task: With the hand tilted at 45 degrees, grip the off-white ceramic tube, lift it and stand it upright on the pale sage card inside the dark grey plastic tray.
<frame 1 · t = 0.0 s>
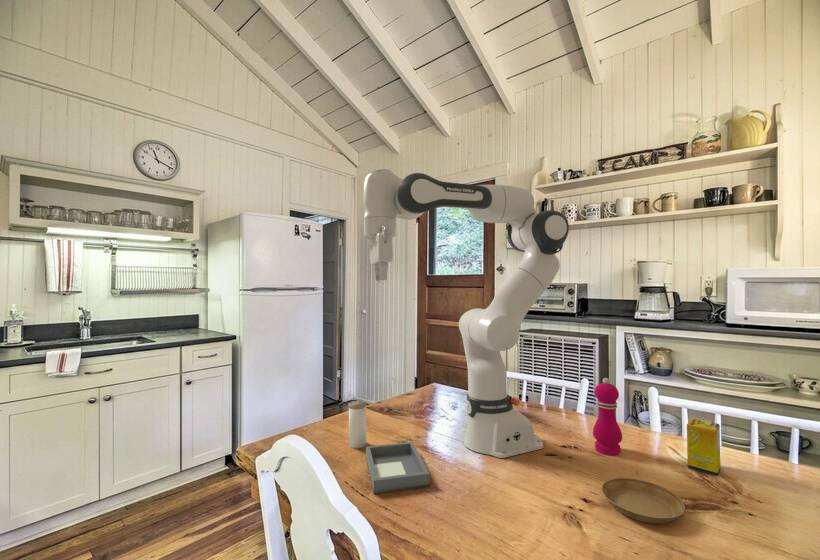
hand: (380, 280, 103), 48 cm above the table, tool pointing down, fingers open, 8 cm apart
pepper mill: (607, 451, 104), on the table
plant saucer: (641, 509, 78), on the table
supplement box: (703, 468, 94), on the table
tube: (357, 444, 111), on the table
tray: (395, 471, 95), on the table
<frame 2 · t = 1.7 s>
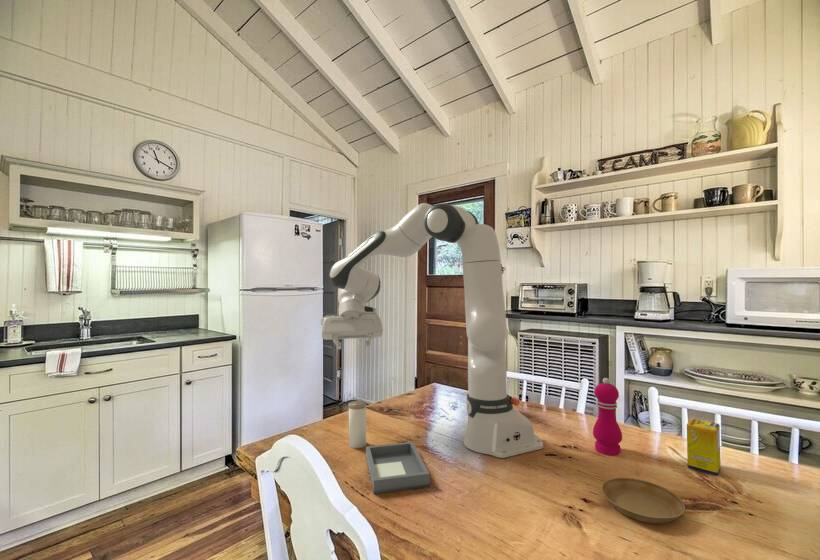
hand: (353, 347, 123), 26 cm above the table, tool tilted 45°, fingers open, 8 cm apart
nothing on the table moved.
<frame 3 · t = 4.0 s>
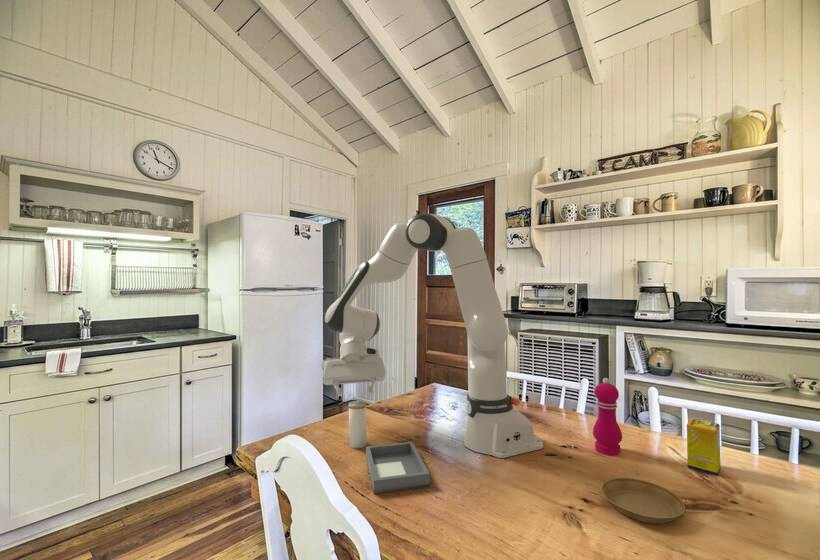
hand: (355, 393, 118), 13 cm above the table, tool tilted 45°, fingers open, 8 cm apart
nothing on the table moved.
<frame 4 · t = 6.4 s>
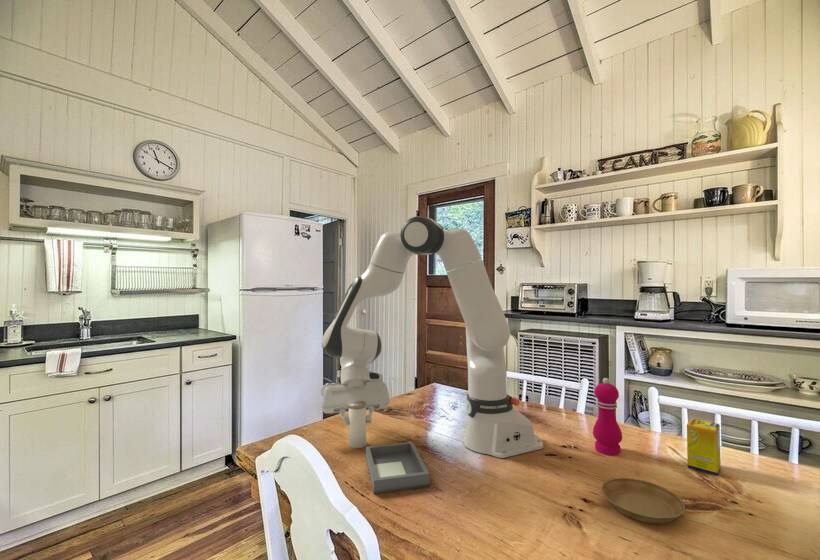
hand: (357, 423, 110), 6 cm above the table, tool tilted 45°, fingers closed on tube, 5 cm apart
tube: (357, 444, 111), on the table, touching gripper
everything else where it was.
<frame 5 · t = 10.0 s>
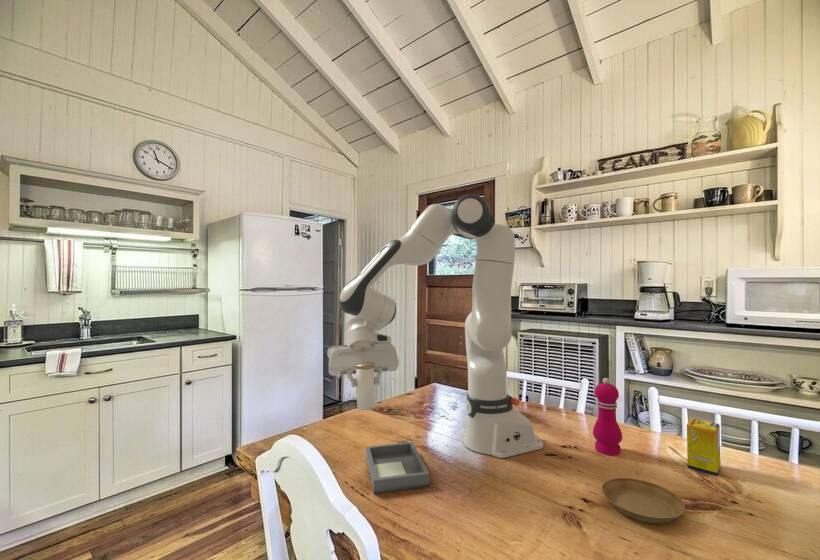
hand: (365, 384, 105), 19 cm above the table, tool tilted 45°, fingers closed on tube, 5 cm apart
tube: (366, 407, 106), point 13 cm above the table, touching gripper
everything else where it was.
when the fingers open (8 cm above the table, at t = 13.8 s): tube drops 1 cm, resting on tray.
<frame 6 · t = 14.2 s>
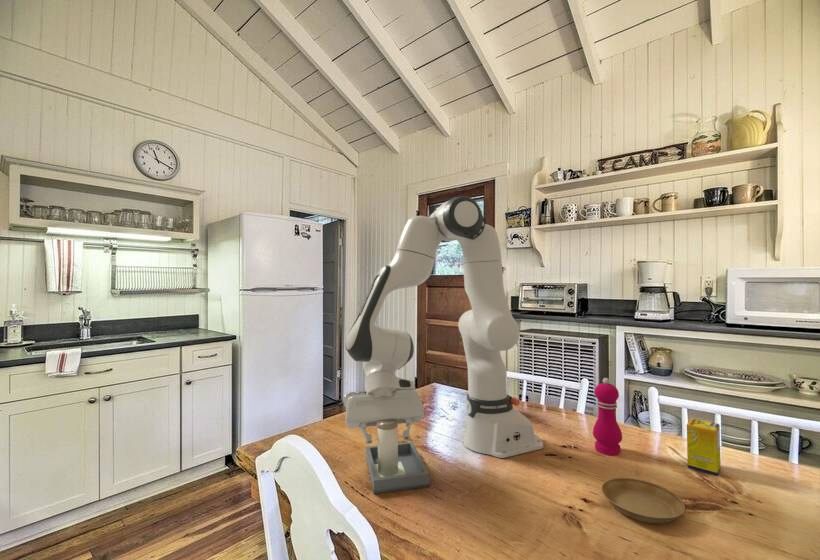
hand: (388, 440, 93), 8 cm above the table, tool tilted 45°, fingers open, 8 cm apart
tube: (388, 470, 93), point 1 cm above the table, touching tray
everything else where it was.
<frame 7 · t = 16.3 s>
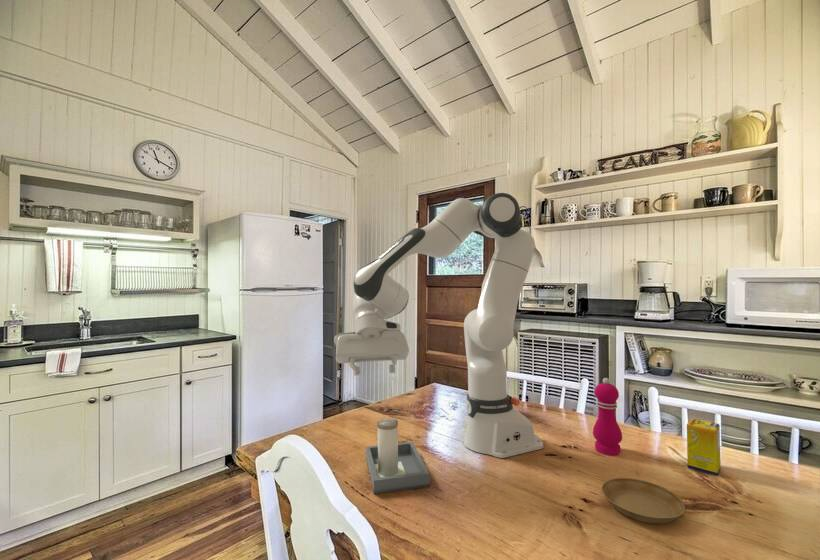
hand: (375, 373, 100), 23 cm above the table, tool tilted 45°, fingers open, 8 cm apart
nothing on the table moved.
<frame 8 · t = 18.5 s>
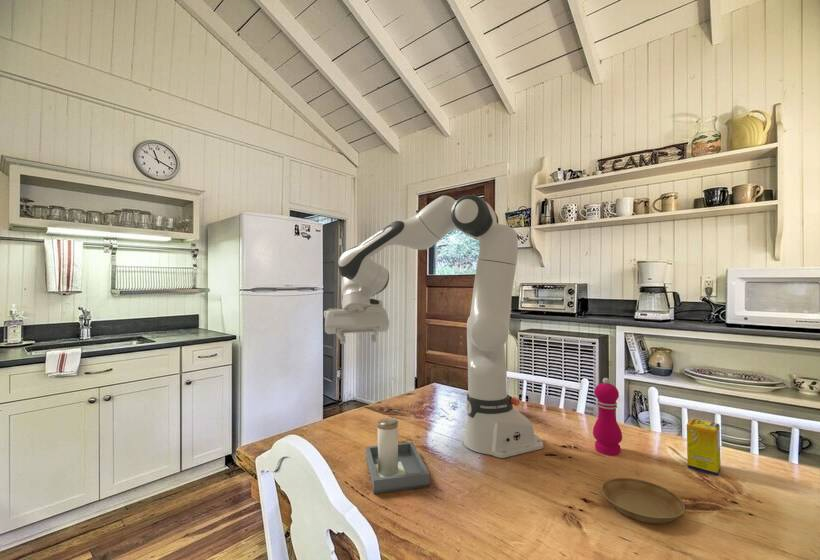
hand: (358, 341, 115), 29 cm above the table, tool tilted 45°, fingers open, 8 cm apart
nothing on the table moved.
at the end: tube inside the target area on the tray (2.2 cm from its centre), point 0.8 cm above the tray's base; tube tilted 0°; the gripper is holding nothing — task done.
